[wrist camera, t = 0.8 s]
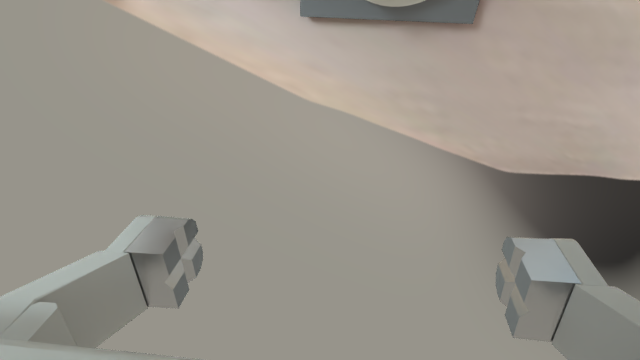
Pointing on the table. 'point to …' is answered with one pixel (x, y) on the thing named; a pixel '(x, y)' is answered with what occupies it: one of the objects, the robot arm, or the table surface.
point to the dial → (395, 2)
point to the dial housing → (393, 10)
